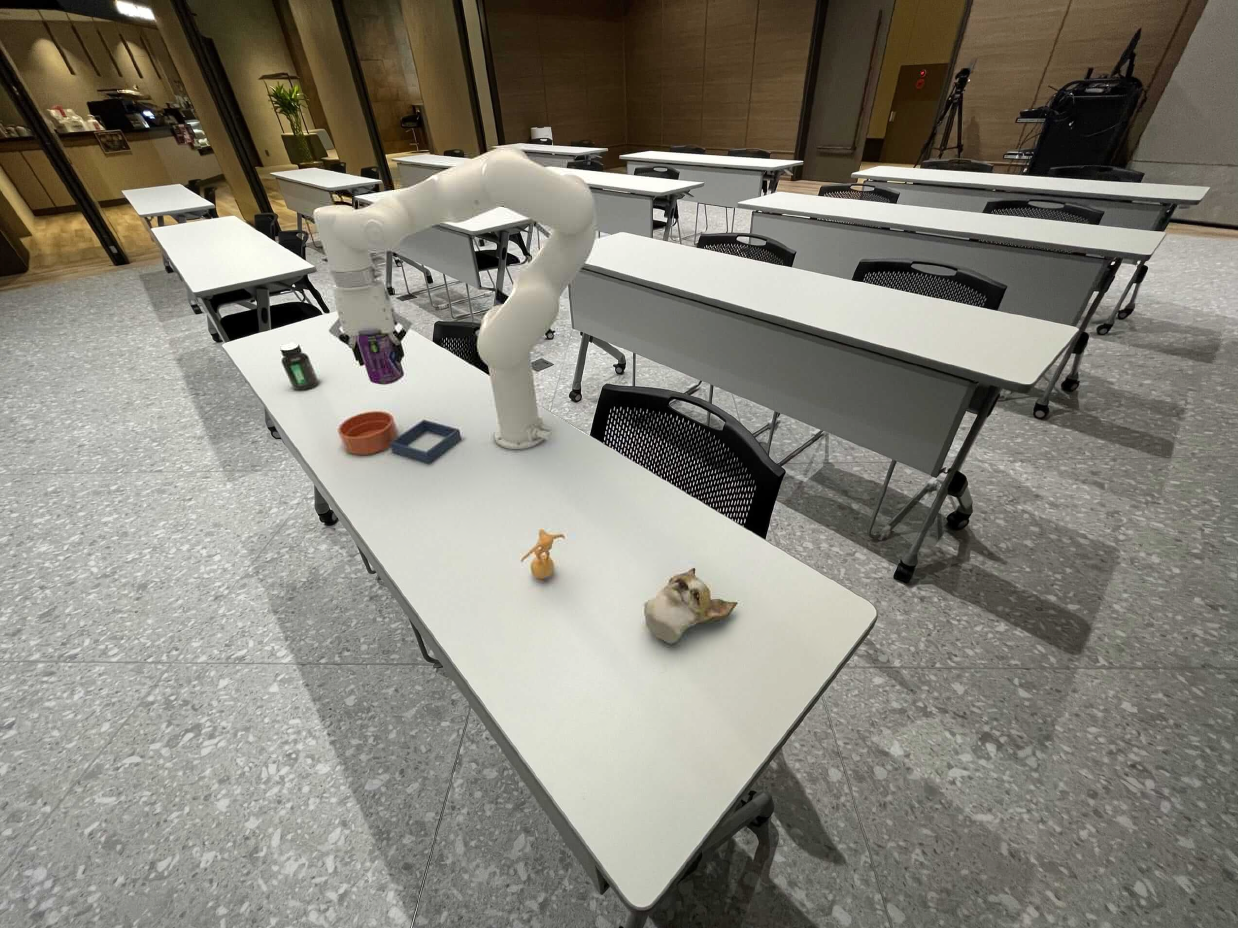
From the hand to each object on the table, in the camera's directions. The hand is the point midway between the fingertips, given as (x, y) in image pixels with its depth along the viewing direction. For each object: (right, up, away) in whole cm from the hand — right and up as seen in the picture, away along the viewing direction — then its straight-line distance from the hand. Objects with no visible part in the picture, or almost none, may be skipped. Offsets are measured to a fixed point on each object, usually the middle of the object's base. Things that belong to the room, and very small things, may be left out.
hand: (381, 361), depth 108 cm
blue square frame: (+5, -18, +12) cm, 22 cm away
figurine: (+39, -42, -21) cm, 61 cm away
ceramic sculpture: (+61, -47, -29) cm, 82 cm away
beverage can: (0, -4, +3) cm, 5 cm away
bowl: (-9, -17, +14) cm, 24 cm away
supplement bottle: (-41, +1, +40) cm, 57 cm away
